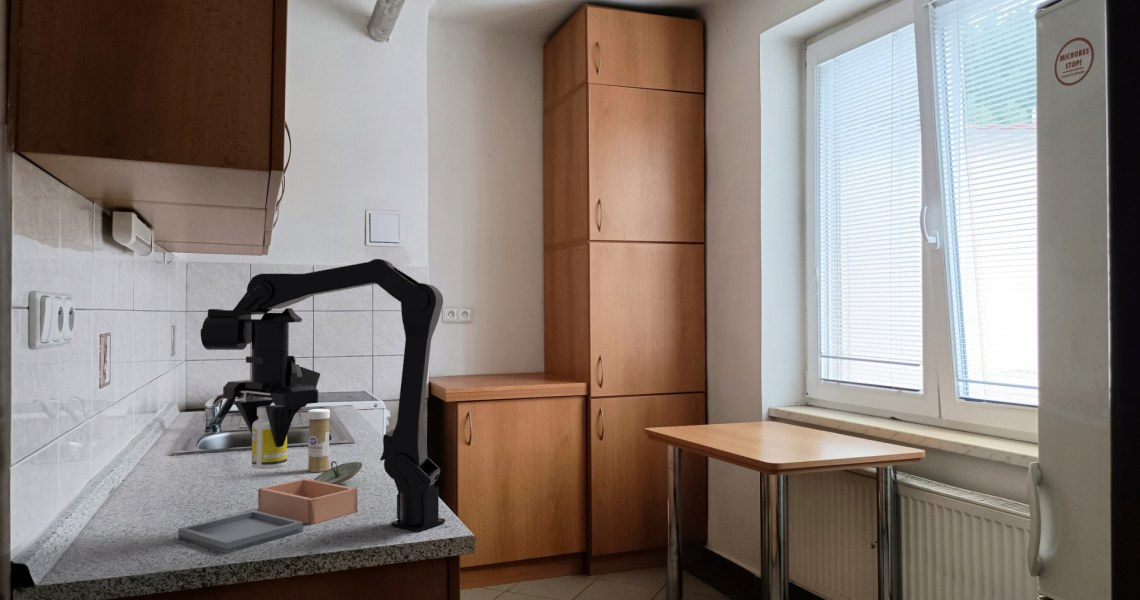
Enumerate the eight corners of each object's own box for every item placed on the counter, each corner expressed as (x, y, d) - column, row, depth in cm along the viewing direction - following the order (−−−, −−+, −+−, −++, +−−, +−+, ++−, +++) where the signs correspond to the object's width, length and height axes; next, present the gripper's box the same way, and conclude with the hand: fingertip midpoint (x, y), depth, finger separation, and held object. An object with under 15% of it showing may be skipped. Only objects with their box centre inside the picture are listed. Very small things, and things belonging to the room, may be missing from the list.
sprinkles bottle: (304, 472, 164) (304, 410, 164) (312, 468, 168) (312, 408, 168) (325, 472, 164) (325, 410, 164) (332, 468, 168) (332, 408, 168)
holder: (357, 511, 132) (357, 488, 132) (311, 524, 124) (311, 500, 124) (304, 500, 140) (304, 478, 140) (258, 511, 132) (258, 488, 132)
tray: (302, 531, 120) (302, 522, 120) (226, 553, 109) (226, 543, 109) (254, 519, 127) (254, 510, 127) (178, 538, 116) (178, 528, 116)
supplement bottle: (293, 464, 126) (294, 405, 126) (271, 470, 120) (272, 409, 121) (266, 462, 127) (267, 404, 127) (244, 468, 122) (244, 408, 122)
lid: (369, 486, 151) (370, 461, 151) (320, 493, 145) (320, 467, 145) (352, 477, 159) (352, 453, 159) (304, 483, 154) (304, 459, 154)
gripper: (346, 349, 125) (345, 443, 125) (280, 346, 136) (280, 433, 136) (286, 352, 116) (286, 454, 116) (221, 349, 127) (220, 441, 127)
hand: (269, 444), depth 124 cm, fingers closed on supplement bottle, 5 cm apart
